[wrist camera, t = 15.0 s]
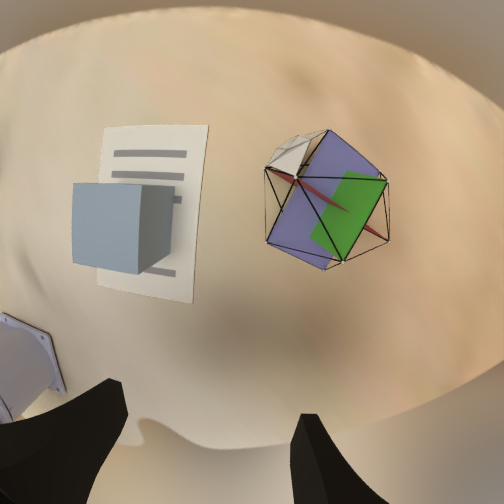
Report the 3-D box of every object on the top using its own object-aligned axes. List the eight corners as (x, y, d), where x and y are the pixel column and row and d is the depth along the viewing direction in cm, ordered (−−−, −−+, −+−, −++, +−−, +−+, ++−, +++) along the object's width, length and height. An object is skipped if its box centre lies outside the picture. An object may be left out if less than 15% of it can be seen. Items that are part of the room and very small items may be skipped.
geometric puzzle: (418, 200, 14) (411, 137, 8) (365, 295, 16) (322, 300, 9) (329, 157, 18) (272, 94, 12) (283, 238, 20) (205, 212, 13)
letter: (97, 285, 19) (97, 285, 19) (105, 127, 16) (104, 127, 16) (192, 303, 19) (192, 303, 19) (208, 125, 16) (208, 125, 16)
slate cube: (114, 245, 18) (72, 262, 13) (116, 183, 17) (73, 183, 12) (170, 253, 18) (138, 275, 13) (175, 186, 17) (141, 185, 12)
